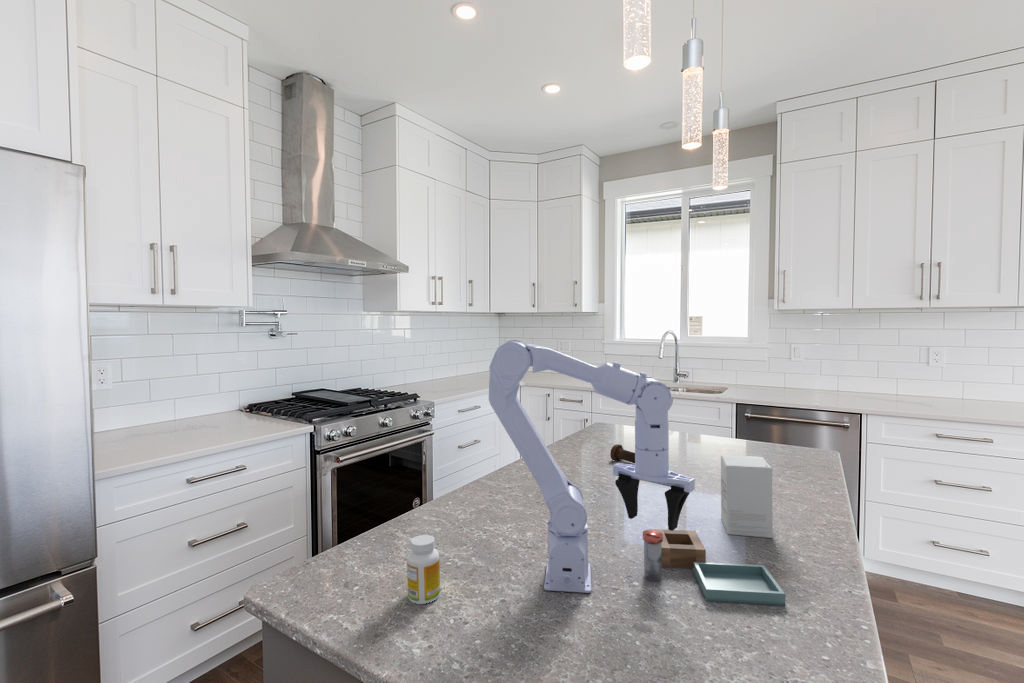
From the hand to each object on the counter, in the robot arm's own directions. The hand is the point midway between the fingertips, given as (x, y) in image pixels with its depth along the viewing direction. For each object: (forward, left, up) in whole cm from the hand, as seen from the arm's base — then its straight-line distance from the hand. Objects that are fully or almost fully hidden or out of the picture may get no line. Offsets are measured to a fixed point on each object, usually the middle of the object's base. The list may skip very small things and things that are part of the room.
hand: (652, 522), depth 86 cm
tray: (-2, -14, -10) cm, 17 cm away
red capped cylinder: (0, 0, -10) cm, 10 cm away
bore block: (+8, -6, -10) cm, 14 cm away
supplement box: (+23, -23, -10) cm, 34 cm away
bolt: (+68, -4, -10) cm, 69 cm away
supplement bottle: (-10, +39, -10) cm, 42 cm away
